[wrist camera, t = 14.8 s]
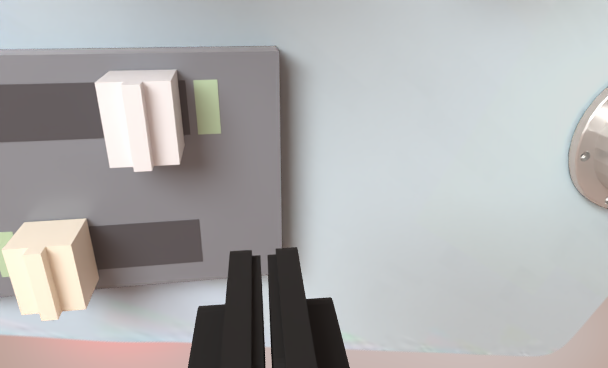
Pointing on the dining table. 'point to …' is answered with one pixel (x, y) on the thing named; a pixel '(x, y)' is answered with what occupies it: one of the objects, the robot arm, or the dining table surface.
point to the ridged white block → (141, 118)
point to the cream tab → (51, 267)
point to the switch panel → (162, 179)
